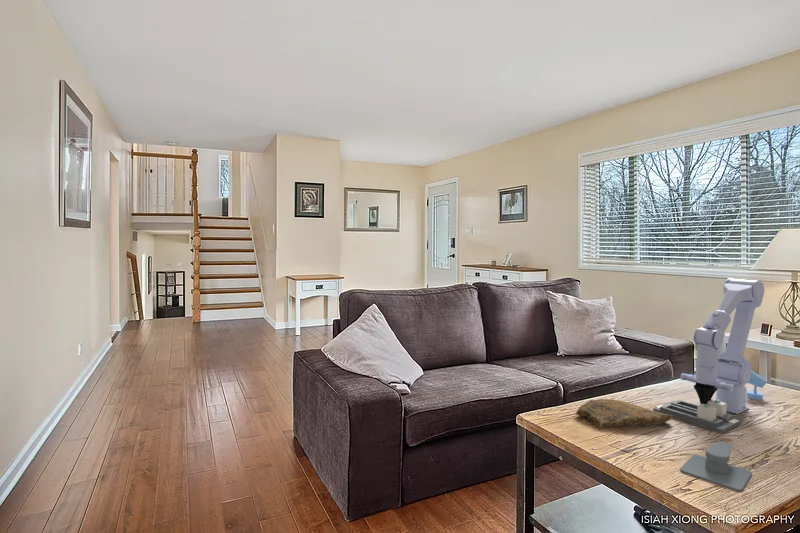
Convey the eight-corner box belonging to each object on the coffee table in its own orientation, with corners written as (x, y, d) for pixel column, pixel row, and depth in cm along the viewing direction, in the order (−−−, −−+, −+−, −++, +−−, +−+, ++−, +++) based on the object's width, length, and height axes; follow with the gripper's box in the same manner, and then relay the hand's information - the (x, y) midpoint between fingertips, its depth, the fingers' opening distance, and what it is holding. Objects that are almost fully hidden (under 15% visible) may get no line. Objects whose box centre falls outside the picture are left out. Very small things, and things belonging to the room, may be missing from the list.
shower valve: (756, 450, 112) (742, 470, 102) (754, 471, 112) (741, 494, 102) (697, 434, 121) (679, 451, 111) (696, 453, 121) (678, 473, 111)
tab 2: (711, 413, 146) (712, 397, 145) (725, 417, 142) (726, 401, 142) (707, 414, 144) (708, 399, 144) (721, 419, 141) (722, 403, 140)
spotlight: (741, 397, 164) (765, 401, 160) (742, 370, 164) (767, 373, 160) (741, 393, 168) (765, 397, 164) (742, 367, 168) (766, 370, 164)
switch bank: (673, 404, 157) (673, 397, 157) (741, 424, 140) (741, 417, 140) (653, 411, 150) (653, 405, 150) (722, 433, 133) (722, 426, 133)
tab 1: (701, 417, 142) (702, 401, 141) (715, 422, 138) (716, 405, 138) (696, 419, 140) (697, 403, 140) (711, 424, 137) (712, 407, 136)
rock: (619, 394, 157) (679, 413, 140) (618, 410, 157) (678, 430, 140) (570, 401, 145) (628, 422, 127) (568, 418, 145) (627, 442, 127)
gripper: (676, 362, 149) (674, 402, 150) (727, 373, 137) (724, 417, 138) (687, 359, 153) (685, 398, 154) (737, 369, 141) (735, 412, 141)
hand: (704, 407), depth 146 cm, fingers closed
